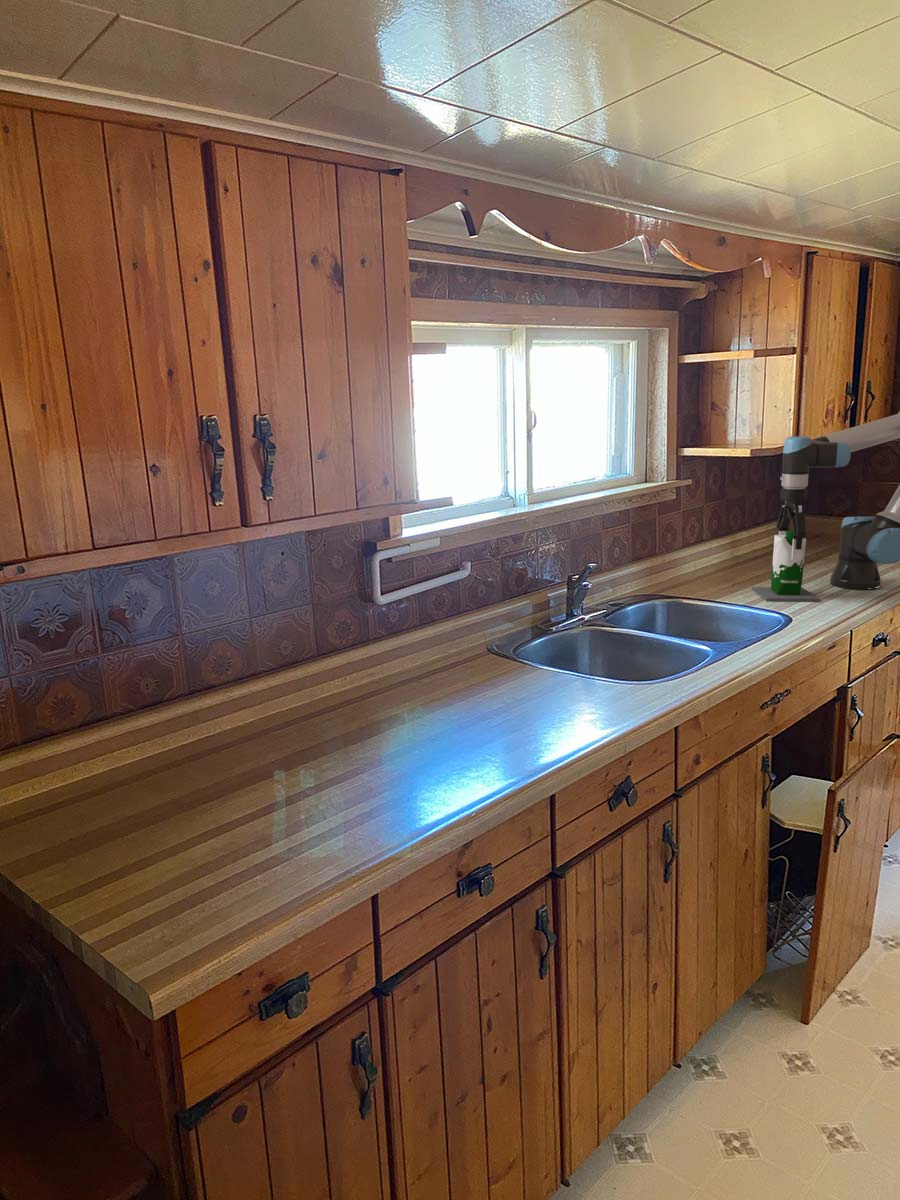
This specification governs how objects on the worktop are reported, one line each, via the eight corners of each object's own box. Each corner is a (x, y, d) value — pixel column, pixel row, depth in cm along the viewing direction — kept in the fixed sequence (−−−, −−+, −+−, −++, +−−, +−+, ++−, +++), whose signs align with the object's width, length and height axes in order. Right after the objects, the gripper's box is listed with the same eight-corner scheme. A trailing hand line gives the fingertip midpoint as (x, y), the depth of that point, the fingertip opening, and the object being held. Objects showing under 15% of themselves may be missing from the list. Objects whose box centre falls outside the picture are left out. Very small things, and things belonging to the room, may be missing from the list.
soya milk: (775, 595, 262) (780, 532, 257) (767, 589, 270) (772, 527, 266) (804, 596, 261) (809, 532, 256) (795, 589, 270) (800, 528, 265)
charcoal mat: (801, 590, 273) (801, 587, 273) (819, 601, 258) (819, 598, 257) (751, 589, 274) (751, 586, 274) (766, 601, 259) (766, 598, 258)
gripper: (769, 483, 270) (765, 548, 275) (795, 492, 246) (789, 563, 251) (793, 483, 270) (788, 548, 275) (821, 491, 245) (815, 562, 250)
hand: (789, 555), depth 263 cm, fingers open, 13 cm apart
